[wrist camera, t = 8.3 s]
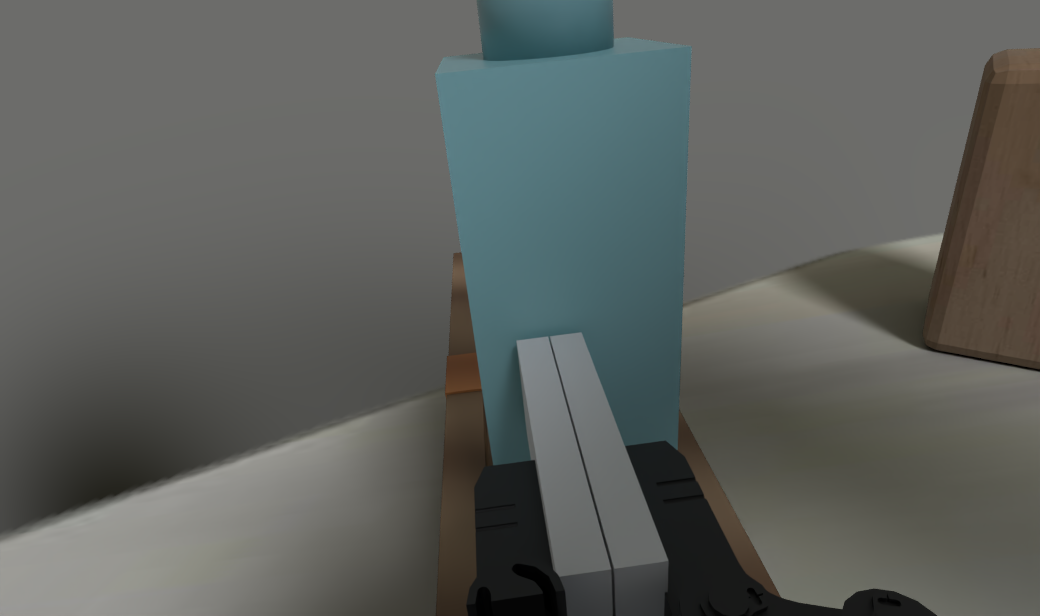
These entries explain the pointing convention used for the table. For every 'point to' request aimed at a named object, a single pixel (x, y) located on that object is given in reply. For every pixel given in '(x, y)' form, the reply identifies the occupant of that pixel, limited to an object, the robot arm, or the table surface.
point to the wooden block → (994, 225)
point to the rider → (571, 205)
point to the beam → (473, 453)
